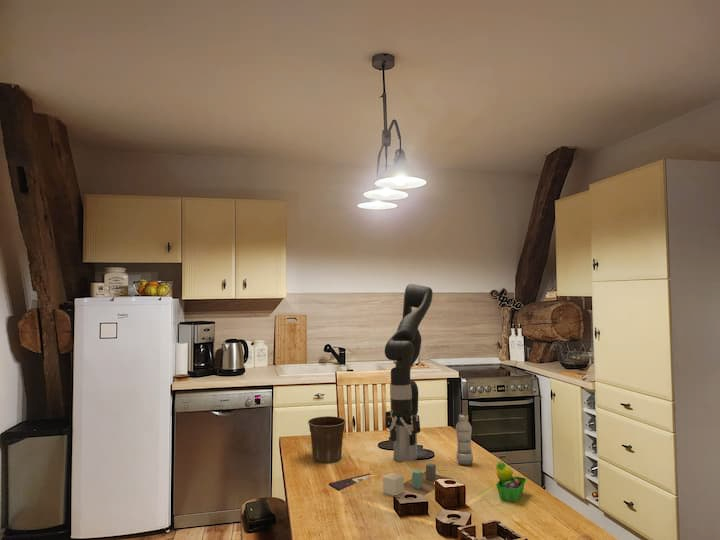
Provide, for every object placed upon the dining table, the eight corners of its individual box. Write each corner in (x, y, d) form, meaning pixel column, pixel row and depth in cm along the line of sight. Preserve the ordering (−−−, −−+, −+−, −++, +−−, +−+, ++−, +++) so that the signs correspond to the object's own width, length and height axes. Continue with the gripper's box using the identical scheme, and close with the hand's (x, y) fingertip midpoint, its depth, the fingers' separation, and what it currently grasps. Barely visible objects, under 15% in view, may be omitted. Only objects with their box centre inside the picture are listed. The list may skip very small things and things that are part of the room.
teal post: (412, 487, 182) (412, 471, 183) (416, 485, 184) (416, 469, 185) (418, 488, 181) (418, 473, 181) (422, 486, 183) (422, 471, 183)
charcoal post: (426, 479, 189) (425, 465, 190) (429, 477, 191) (429, 463, 192) (432, 481, 188) (431, 466, 188) (435, 479, 190) (435, 464, 190)
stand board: (424, 498, 175) (424, 495, 175) (395, 490, 182) (395, 487, 183) (453, 481, 190) (453, 478, 190) (426, 474, 198) (425, 471, 198)
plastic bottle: (473, 467, 206) (472, 416, 206) (456, 466, 207) (455, 416, 208) (473, 462, 212) (471, 413, 213) (456, 461, 213) (455, 412, 214)
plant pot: (351, 461, 214) (351, 423, 215) (314, 467, 208) (314, 427, 209) (338, 451, 230) (338, 414, 230) (304, 455, 224) (303, 418, 224)
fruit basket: (518, 504, 169) (517, 470, 169) (492, 499, 174) (491, 465, 174) (527, 493, 179) (526, 460, 179) (502, 488, 183) (501, 456, 184)
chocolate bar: (329, 483, 189) (369, 473, 199) (329, 485, 189) (369, 475, 199) (341, 491, 182) (382, 480, 191) (341, 493, 182) (382, 483, 191)
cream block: (383, 496, 178) (382, 476, 178) (392, 491, 182) (391, 472, 182) (395, 499, 174) (395, 480, 175) (404, 495, 178) (403, 475, 179)
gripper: (379, 396, 185) (381, 442, 184) (410, 400, 175) (411, 448, 174) (393, 393, 191) (394, 437, 189) (423, 397, 181) (425, 444, 179)
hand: (403, 443), depth 182 cm, fingers open, 8 cm apart
